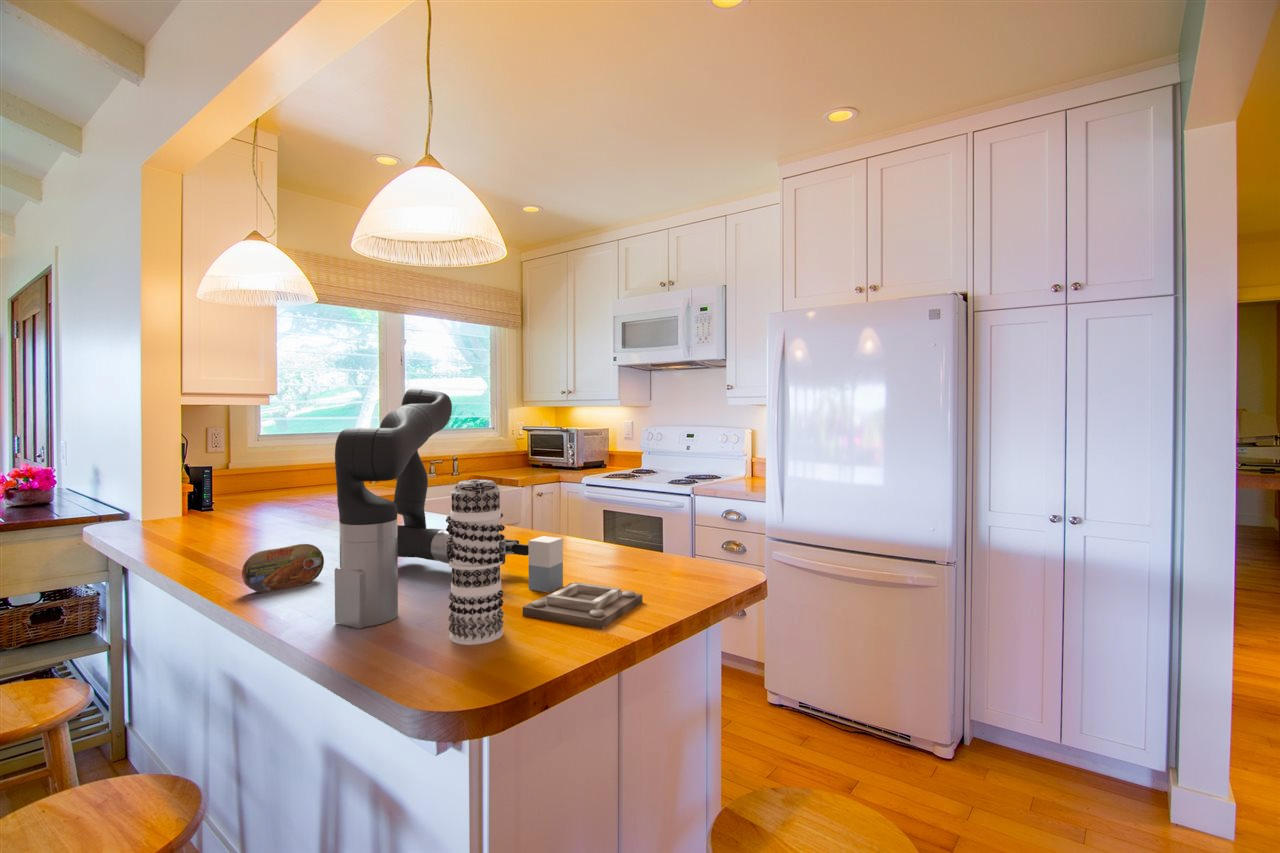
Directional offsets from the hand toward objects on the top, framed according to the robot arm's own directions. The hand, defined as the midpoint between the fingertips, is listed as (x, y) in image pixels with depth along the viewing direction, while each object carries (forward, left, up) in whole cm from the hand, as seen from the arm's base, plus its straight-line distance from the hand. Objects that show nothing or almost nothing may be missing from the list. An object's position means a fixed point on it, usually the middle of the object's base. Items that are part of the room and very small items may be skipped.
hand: (517, 554), depth 127 cm
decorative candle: (-27, -12, -6) cm, 30 cm away
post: (0, -7, -6) cm, 10 cm away
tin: (-23, +42, -6) cm, 48 cm away
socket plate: (-8, -21, -6) cm, 24 cm away
